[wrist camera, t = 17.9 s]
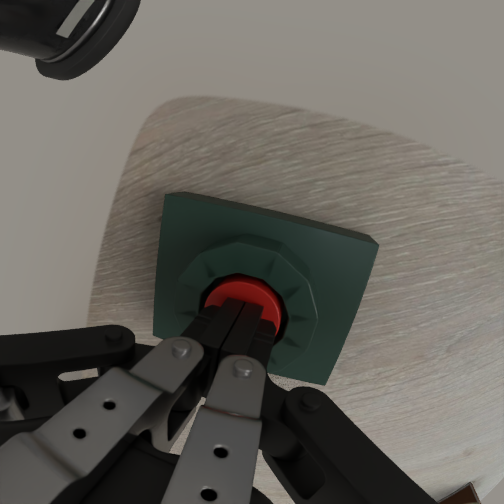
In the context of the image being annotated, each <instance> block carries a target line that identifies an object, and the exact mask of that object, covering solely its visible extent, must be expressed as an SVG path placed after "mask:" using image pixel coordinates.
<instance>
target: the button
mask: <svg viewBox="0 0 504 504" xmlns="http://www.w3.org/2000/svg"><path fill="white" fill-rule="evenodd" d="M227 297H231V298H234V299H238V300H241V301H245V304H246V302H249V303H252V304H256V305H260V306H263V307H264V309H263V313H262V317H261V318H262V319H266V320H269V321H273V322H274V324H275V326H276V329H277V331H276V334H277V332H278V330H279V326H280V322H281V317H282V313H283V308H284V302H283V299H282V296H281V295H280V294H279V293H278V292H276V291H275V290H274V289H273V288H272V287H271V286H270V285H269V284H268V283H267V282H266V281H264V280H263V279H261V278H257V277H253V276H249V275H245V274H242V273H234V274H230V275H227V276H226V277H224V278H223V279H222V281H221V282H220V283H219V284H218V285H217V286H216V288H215V289H214V290H213V291H212V292H211V293H210V295H209V296H208V298H207V300H206V303H205V307H207V306H210V305H212V304H213V305H216V306H220V307H221V306H222V304H223V303H224V301H225V300H226V299H227ZM205 307H204V308H205ZM275 336H276V335H275Z"/></svg>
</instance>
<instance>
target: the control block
mask: <svg viewBox="0 0 504 504" xmlns="http://www.w3.org/2000/svg"><path fill="white" fill-rule="evenodd" d="M378 248H379V244H378V243H377V242H376V241H375V240H373V239H372V238H371V237H370V236H369V235H366V234H363V233H359V232H355V231H352V230H348V229H344V228H341V227H337V226H333V225H329V224H325V223H321V222H318V221H314V220H310V219H306V218H302V217H298V216H294V215H289V214H285V213H281V212H277V211H273V210H268V209H264V208H260V207H255V206H251V205H246V204H242V203H237V202H233V201H228V200H224V199H219V198H214V197H209V196H204V195H199V194H194V193H189V192H177V193H169V194H165V200H164V207H163V214H162V222H161V230H160V239H159V248H158V258H157V270H156V282H155V297H154V317H153V336H156V337H158V338H161V339H163V340H164V339H166V338H168V337H172V336H180V335H181V334H182V333H183V332H184V330H185V329H186V328H187V327H188V326H189V324H190V323H191V322H192V321H193V320H194V318H195V317H196V316H198V314H199V312H200V311H201V310H202V309H203V308H204V307H205V303H206V300H207V298H208V296H209V295H210V293H211V292H212V291H213V290H214V289H215V288H216V286H217V285H218V284H219V283H220V282H221V281H222V279H223V278H224V277H226V276H227V275H230V274H234V273H242V274H245V275H249V276H253V277H257V278H261V279H263V280H264V281H266V282H267V283H268V284H269V285H270V286H271V287H272V288H273V289H274V290H275V291H276V292H278V293H279V294H280V295H281V296H282V299H283V302H284V308H283V313H282V317H281V322H280V326H279V330H278V332H277V334H276V336H275V339H274V343H273V347H272V350H271V354H270V358H269V362H268V366H267V373H271V374H275V375H279V376H283V377H287V378H291V379H296V380H300V381H305V382H309V383H314V384H319V385H324V386H325V385H326V383H327V381H328V378H329V376H330V374H331V372H332V370H333V368H334V365H335V363H336V361H337V359H338V357H339V354H340V352H341V350H342V347H343V345H344V343H345V340H346V338H347V335H348V333H349V331H350V328H351V326H352V323H353V321H354V318H355V315H356V313H357V310H358V307H359V305H360V302H361V299H362V297H363V294H364V291H365V288H366V285H367V282H368V279H369V276H370V273H371V270H372V267H373V264H374V261H375V258H376V255H377V251H378Z"/></svg>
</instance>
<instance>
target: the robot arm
mask: <svg viewBox="0 0 504 504" xmlns="http://www.w3.org/2000/svg"><path fill="white" fill-rule="evenodd" d="M114 2H115V0H0V50H4V51H9V52H13V53H18V54H22V55H25V56H29V57H33V58H37V59H40V60H41V61H44V62H47V63H51V64H55V63H59V62H62V61H64V60H66V59H67V58H69V57H70V56H72V55H73V54H74V53H76V52H77V51H78V50H79V49H80V48H81V47H82V46H83V45H84V44H85V43H86V42H87V41H88V40H89V39H90V38H91V37H92V36H93V35H94V34H95V32H96V31H97V30H98V29H99V27H100V26H101V25H102V23H103V22H104V20H105V19H106V17H107V16H108V14H109V12H110V10H111V8H112V6H113V4H114ZM263 309H264V307H263V306H260V305H256V304H252V303H249V302H246V304H245V301H241V300H238V299H234V298H231V297H227V299H226V300H225V301H224V303H223V304H222V306H221V307H220V306H216V305H213V304H212V305H210V306H207V307H205V308H203V309H202V310H201V311H200V312H199V314H198V316H196V317H195V318H194V320H193V321H192V322H191V323H190V324H189V326H188V327H187V328H186V329H185V330H184V332H183V333H182V334H181V335H180V336H172V337H168V338H166V339H164V340H162V341H161V342H160V343H159V344H158V345H157V346H149V345H144V344H138V343H135V335H134V333H133V332H132V331H131V330H130V329H128V328H126V327H124V326H120V325H104V326H96V327H87V328H79V329H70V330H60V331H50V332H39V333H28V334H14V335H0V504H273V503H272V502H271V500H270V499H268V498H267V497H266V496H265V495H264V494H263V493H262V492H260V491H259V490H258V489H256V488H255V487H253V480H254V474H255V467H256V461H257V455H258V449H260V450H262V455H263V457H264V459H265V461H266V462H267V464H268V465H269V467H270V468H271V470H272V471H273V473H274V474H275V476H276V477H277V479H278V480H279V482H280V483H281V484H282V486H283V487H284V489H285V490H286V491H287V493H288V494H289V496H290V497H291V498H292V500H293V501H294V502H295V504H438V503H437V502H436V501H435V500H434V499H433V498H432V497H430V496H429V495H428V494H427V493H426V492H425V491H424V490H423V489H422V488H420V487H419V486H418V485H417V484H416V483H415V482H414V481H413V480H412V479H411V478H410V477H409V476H407V475H406V474H405V473H404V472H403V471H402V470H401V469H400V468H399V467H398V466H397V465H396V464H395V463H394V462H393V461H392V460H391V459H389V458H388V457H387V456H386V455H385V454H384V453H383V452H382V451H381V450H380V449H379V448H378V447H377V446H376V445H375V444H374V443H373V442H372V441H371V440H370V439H369V438H368V437H367V436H366V435H365V434H364V433H363V432H362V431H361V430H360V429H359V428H358V427H357V426H356V425H355V424H354V423H353V422H352V421H351V420H350V419H349V418H348V417H347V416H346V415H345V414H344V413H343V412H342V411H341V409H340V408H339V407H338V406H337V405H336V404H335V403H334V402H333V401H332V400H331V399H330V398H329V397H328V396H327V395H326V394H325V393H323V392H322V391H320V390H318V389H315V388H312V387H304V386H303V387H296V388H293V389H291V390H290V391H286V390H284V389H282V388H281V387H279V386H277V385H276V384H275V383H273V382H272V381H271V379H270V378H269V376H268V374H267V366H268V362H269V358H270V354H271V350H272V347H273V343H274V339H275V335H276V331H277V329H276V326H275V324H274V322H273V321H269V320H266V319H262V318H261V317H262V313H263ZM93 368H97V371H98V377H92V378H86V379H79V380H73V381H62V380H60V379H59V378H58V376H59V375H60V374H62V373H65V372H72V371H80V370H86V369H93ZM201 397H205V398H206V401H205V404H204V405H201V406H200V408H199V410H198V412H197V415H196V417H195V420H194V422H193V425H192V427H191V430H190V432H189V435H188V437H187V440H186V443H185V445H184V448H183V450H182V453H181V455H176V454H171V453H169V452H170V449H171V448H172V446H173V444H174V443H175V442H176V440H177V439H178V437H179V436H180V434H181V433H182V431H183V430H184V428H185V427H186V425H187V424H188V422H189V421H190V419H191V418H192V416H193V415H194V414H195V412H196V406H197V404H198V403H199V401H200V399H201Z"/></svg>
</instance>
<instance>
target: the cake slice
mask: <svg viewBox="0 0 504 504" xmlns="http://www.w3.org/2000/svg"><path fill="white" fill-rule="evenodd" d="M437 503H438V504H481V503H480V500H479V498H478V496H477V493H476V491H475V489H474V487H473V485H472V483H471V482H470V483H469V484H467V485H465V486H464V487H462V488H461V489H459V490H458V491H456V492H454V493H453V494H451V495H449V496H447V497H446V498H444V499H442V500H440V501H439V502H437Z"/></svg>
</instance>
